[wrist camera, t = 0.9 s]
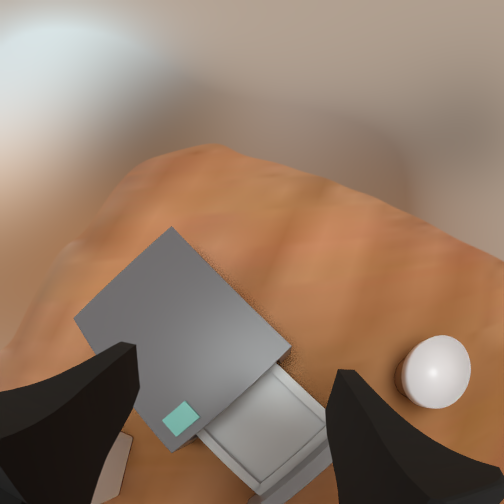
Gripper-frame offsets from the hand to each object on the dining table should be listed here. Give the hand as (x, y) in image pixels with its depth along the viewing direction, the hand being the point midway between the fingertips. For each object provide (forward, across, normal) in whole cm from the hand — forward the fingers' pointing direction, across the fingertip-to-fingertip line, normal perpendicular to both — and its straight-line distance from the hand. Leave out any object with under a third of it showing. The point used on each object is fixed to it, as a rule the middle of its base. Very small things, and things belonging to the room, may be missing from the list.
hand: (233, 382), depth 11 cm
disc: (+10, -15, +6) cm, 19 cm away
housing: (+16, +5, +9) cm, 19 cm away
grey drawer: (+11, -1, +12) cm, 17 cm away
